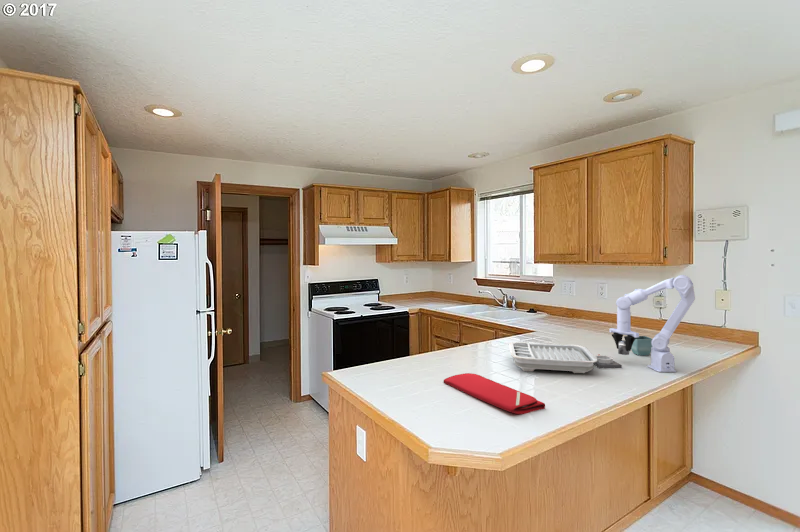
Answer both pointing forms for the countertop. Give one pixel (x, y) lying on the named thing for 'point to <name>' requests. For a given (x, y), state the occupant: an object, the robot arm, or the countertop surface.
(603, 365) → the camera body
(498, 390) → the red folded towel
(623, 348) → the lens
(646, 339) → the flower pot
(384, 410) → the countertop surface
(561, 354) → the dish rack
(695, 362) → the countertop surface
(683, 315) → the robot arm
